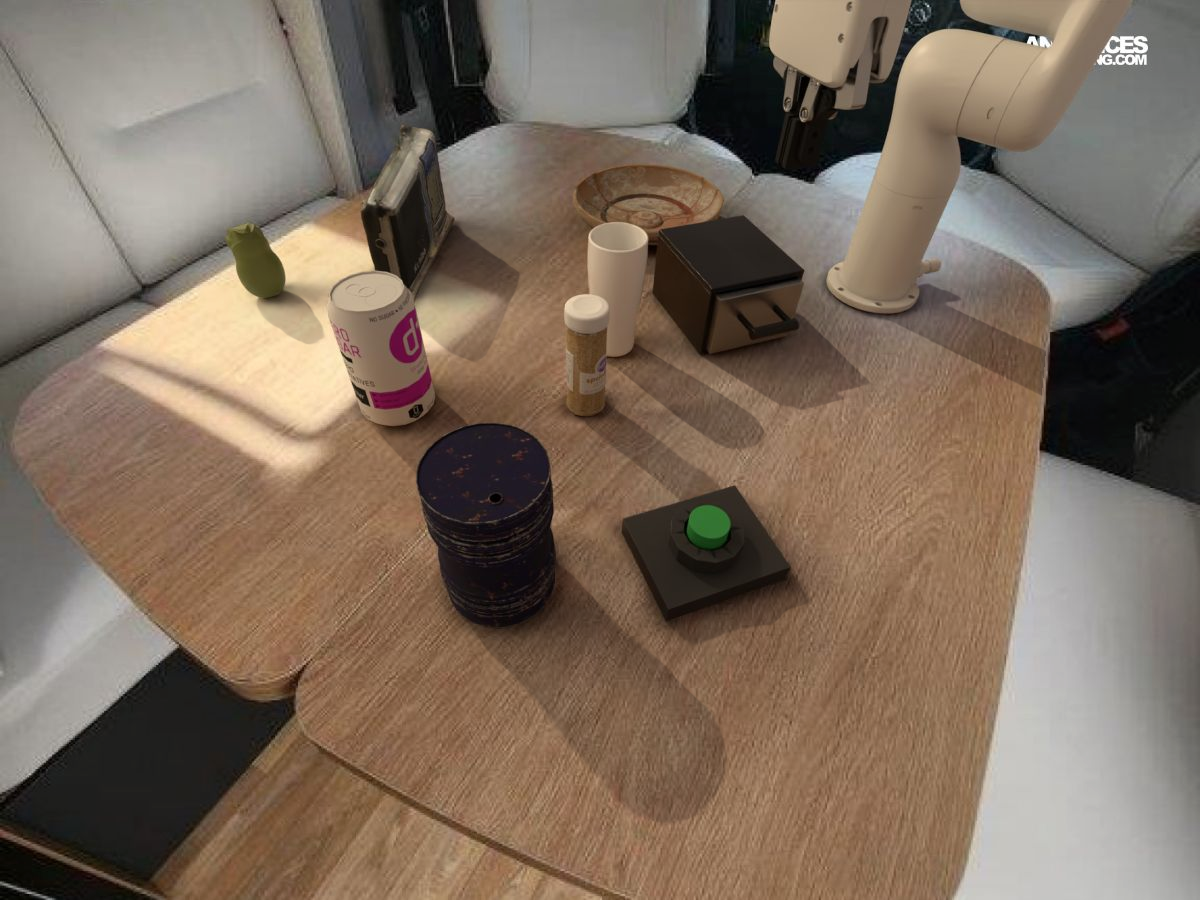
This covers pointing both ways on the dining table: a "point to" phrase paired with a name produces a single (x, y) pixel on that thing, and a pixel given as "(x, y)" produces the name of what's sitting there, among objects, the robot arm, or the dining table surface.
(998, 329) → the dining table surface
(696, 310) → the cabinet
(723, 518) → the button
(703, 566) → the control block
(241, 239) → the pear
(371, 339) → the soda can
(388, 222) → the radio
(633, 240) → the tall white cup
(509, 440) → the storage jar
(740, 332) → the drawer
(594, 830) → the dining table surface
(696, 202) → the ceramic bowl
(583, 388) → the sprinkles bottle
